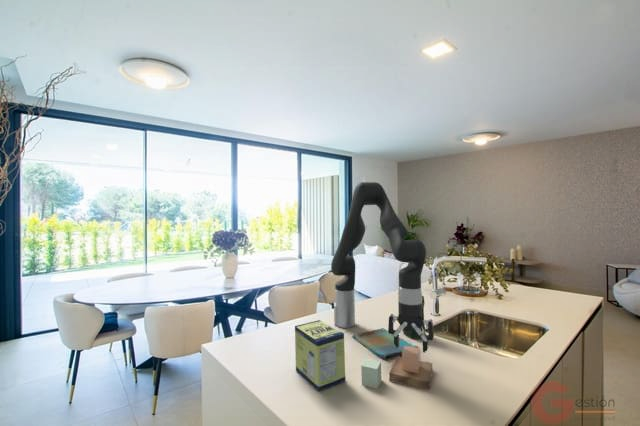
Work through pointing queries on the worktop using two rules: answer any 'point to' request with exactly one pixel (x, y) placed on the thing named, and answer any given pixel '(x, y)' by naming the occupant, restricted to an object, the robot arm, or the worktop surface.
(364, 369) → the sage block
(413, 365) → the terracotta block
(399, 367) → the plinth
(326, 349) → the protein box
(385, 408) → the worktop surface
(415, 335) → the coffee jar
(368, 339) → the dish towel
